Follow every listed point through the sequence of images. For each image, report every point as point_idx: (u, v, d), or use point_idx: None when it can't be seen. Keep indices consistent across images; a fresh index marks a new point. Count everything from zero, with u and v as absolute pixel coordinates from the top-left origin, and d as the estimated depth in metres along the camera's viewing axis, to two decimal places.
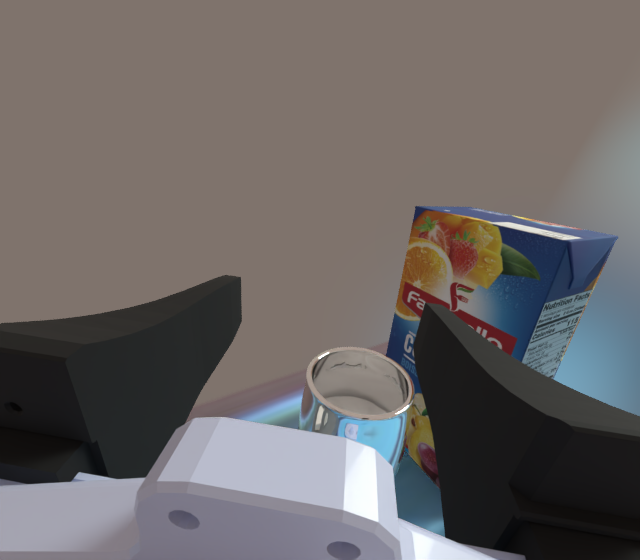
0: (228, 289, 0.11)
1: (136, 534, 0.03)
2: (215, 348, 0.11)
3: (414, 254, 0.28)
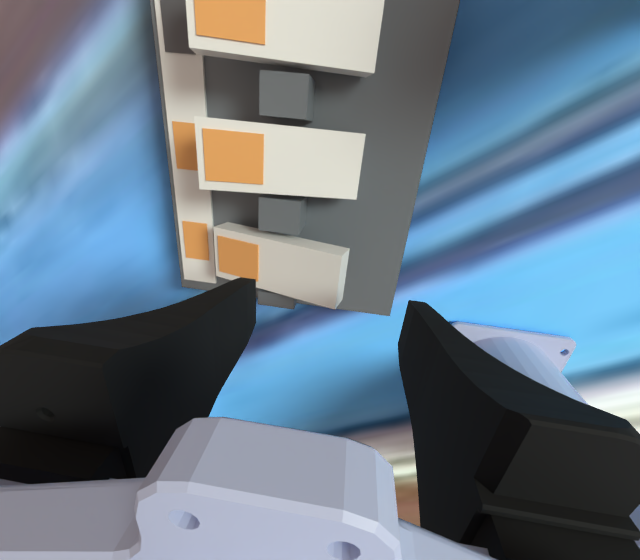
0: (245, 292, 0.11)
1: (136, 534, 0.03)
2: (232, 350, 0.11)
3: None
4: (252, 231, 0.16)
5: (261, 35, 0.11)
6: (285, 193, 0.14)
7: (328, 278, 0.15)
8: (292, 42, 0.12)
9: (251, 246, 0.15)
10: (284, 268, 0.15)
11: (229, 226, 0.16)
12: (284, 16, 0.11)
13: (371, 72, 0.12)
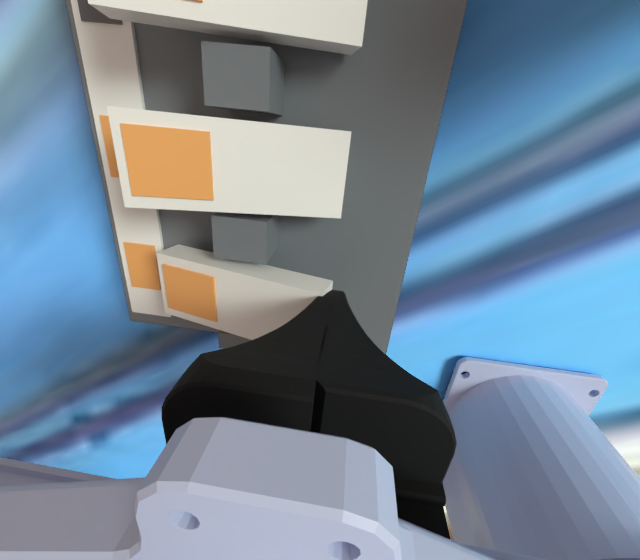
0: None
1: (136, 534, 0.03)
2: None
3: None
4: (207, 258, 0.12)
5: None
6: (245, 211, 0.10)
7: None
8: None
9: (205, 278, 0.12)
10: (249, 307, 0.12)
11: (178, 251, 0.13)
12: None
13: (357, 45, 0.09)
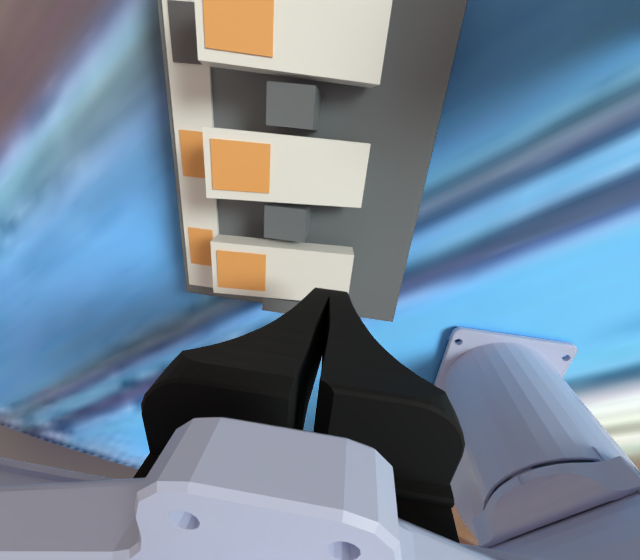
0: (327, 304, 0.11)
1: (136, 534, 0.03)
2: (316, 363, 0.10)
3: None
4: (253, 241, 0.15)
5: (269, 48, 0.12)
6: (291, 201, 0.14)
7: (340, 277, 0.16)
8: (299, 55, 0.12)
9: (258, 256, 0.15)
10: (295, 274, 0.16)
11: (225, 239, 0.15)
12: (291, 29, 0.11)
13: (376, 83, 0.13)
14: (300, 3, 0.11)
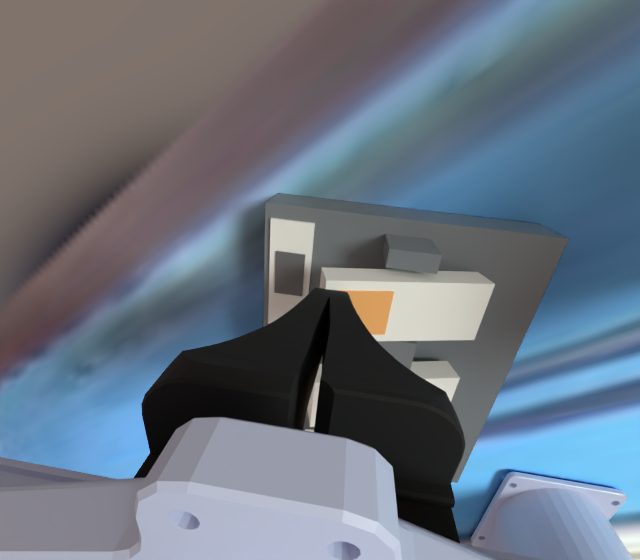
0: (327, 303, 0.11)
1: (136, 534, 0.03)
2: (316, 363, 0.10)
3: None
4: None
5: (382, 328, 0.13)
6: None
7: None
8: (407, 329, 0.13)
9: None
10: None
11: None
12: (403, 314, 0.13)
13: (471, 339, 0.14)
14: (413, 297, 0.12)
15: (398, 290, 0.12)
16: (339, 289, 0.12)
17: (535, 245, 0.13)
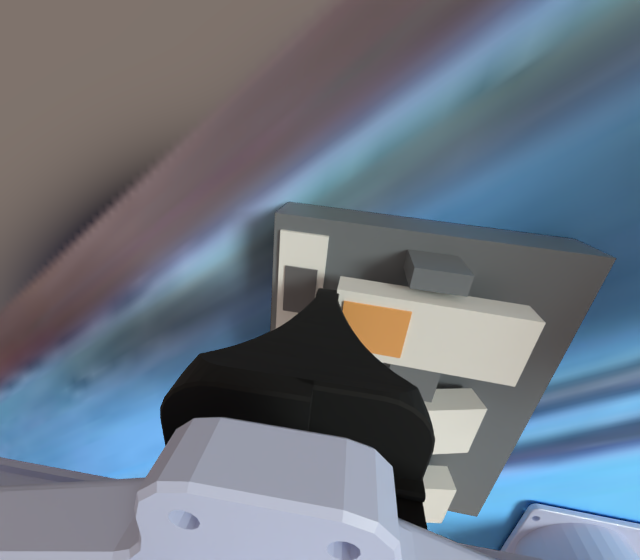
0: None
1: (136, 534, 0.03)
2: None
3: None
4: None
5: (398, 350, 0.12)
6: None
7: (439, 505, 0.16)
8: (428, 357, 0.12)
9: None
10: None
11: None
12: (423, 340, 0.11)
13: (511, 385, 0.11)
14: (436, 322, 0.11)
15: (418, 311, 0.11)
16: (351, 300, 0.11)
17: (577, 264, 0.12)
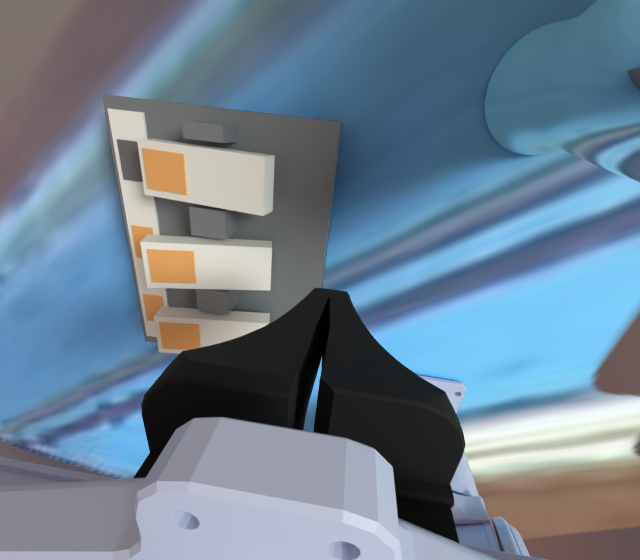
0: (327, 303, 0.11)
1: (136, 534, 0.03)
2: (316, 363, 0.10)
3: None
4: (189, 313, 0.20)
5: (184, 189, 0.16)
6: (214, 288, 0.18)
7: None
8: (204, 193, 0.16)
9: (193, 326, 0.19)
10: (223, 337, 0.20)
11: (166, 312, 0.20)
12: (197, 178, 0.16)
13: (261, 215, 0.16)
14: (201, 162, 0.15)
15: (188, 153, 0.15)
16: (147, 148, 0.16)
17: (316, 128, 0.16)
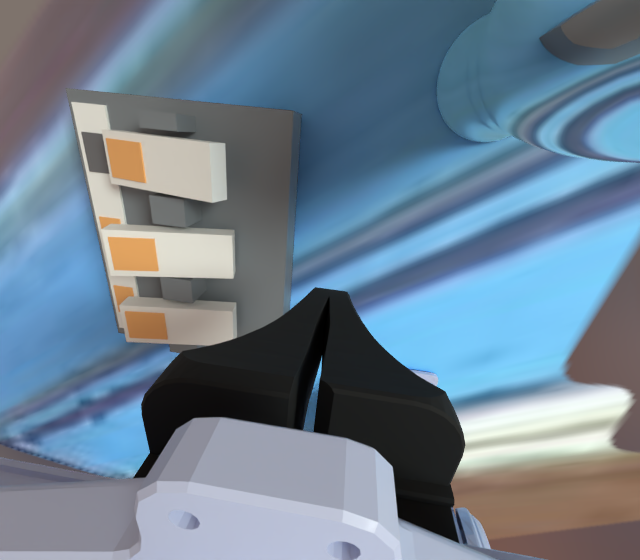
0: (327, 304, 0.11)
1: (136, 534, 0.03)
2: (316, 363, 0.10)
3: None
4: (155, 302, 0.20)
5: (143, 177, 0.17)
6: (176, 276, 0.19)
7: (225, 327, 0.20)
8: (160, 181, 0.16)
9: (158, 315, 0.20)
10: (189, 326, 0.20)
11: (133, 301, 0.20)
12: (153, 166, 0.16)
13: (211, 202, 0.16)
14: (156, 150, 0.16)
15: (144, 141, 0.16)
16: (110, 138, 0.17)
17: (271, 118, 0.17)
